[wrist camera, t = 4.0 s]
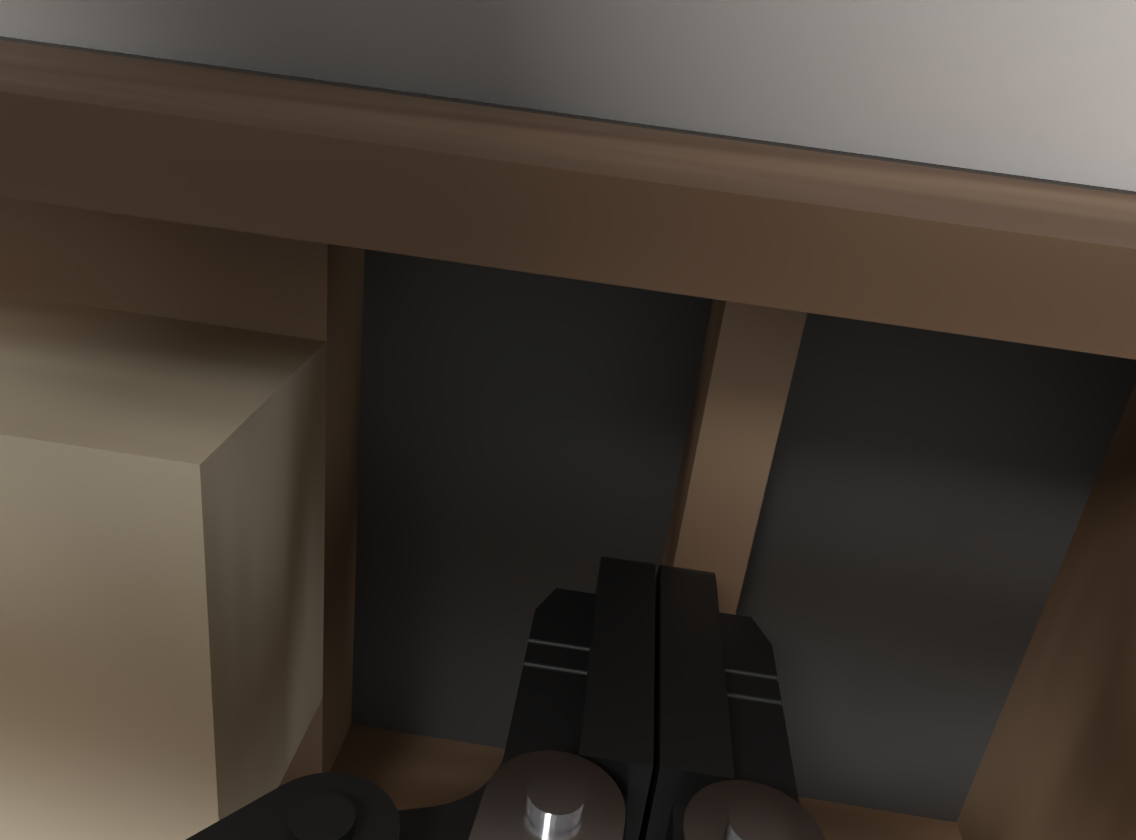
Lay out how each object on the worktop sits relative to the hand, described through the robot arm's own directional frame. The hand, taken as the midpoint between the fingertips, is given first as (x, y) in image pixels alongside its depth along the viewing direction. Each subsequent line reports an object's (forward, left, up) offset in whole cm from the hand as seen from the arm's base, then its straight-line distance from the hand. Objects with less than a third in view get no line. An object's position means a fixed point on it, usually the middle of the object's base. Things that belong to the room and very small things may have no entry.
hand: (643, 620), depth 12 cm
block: (0, -8, -1) cm, 8 cm away
